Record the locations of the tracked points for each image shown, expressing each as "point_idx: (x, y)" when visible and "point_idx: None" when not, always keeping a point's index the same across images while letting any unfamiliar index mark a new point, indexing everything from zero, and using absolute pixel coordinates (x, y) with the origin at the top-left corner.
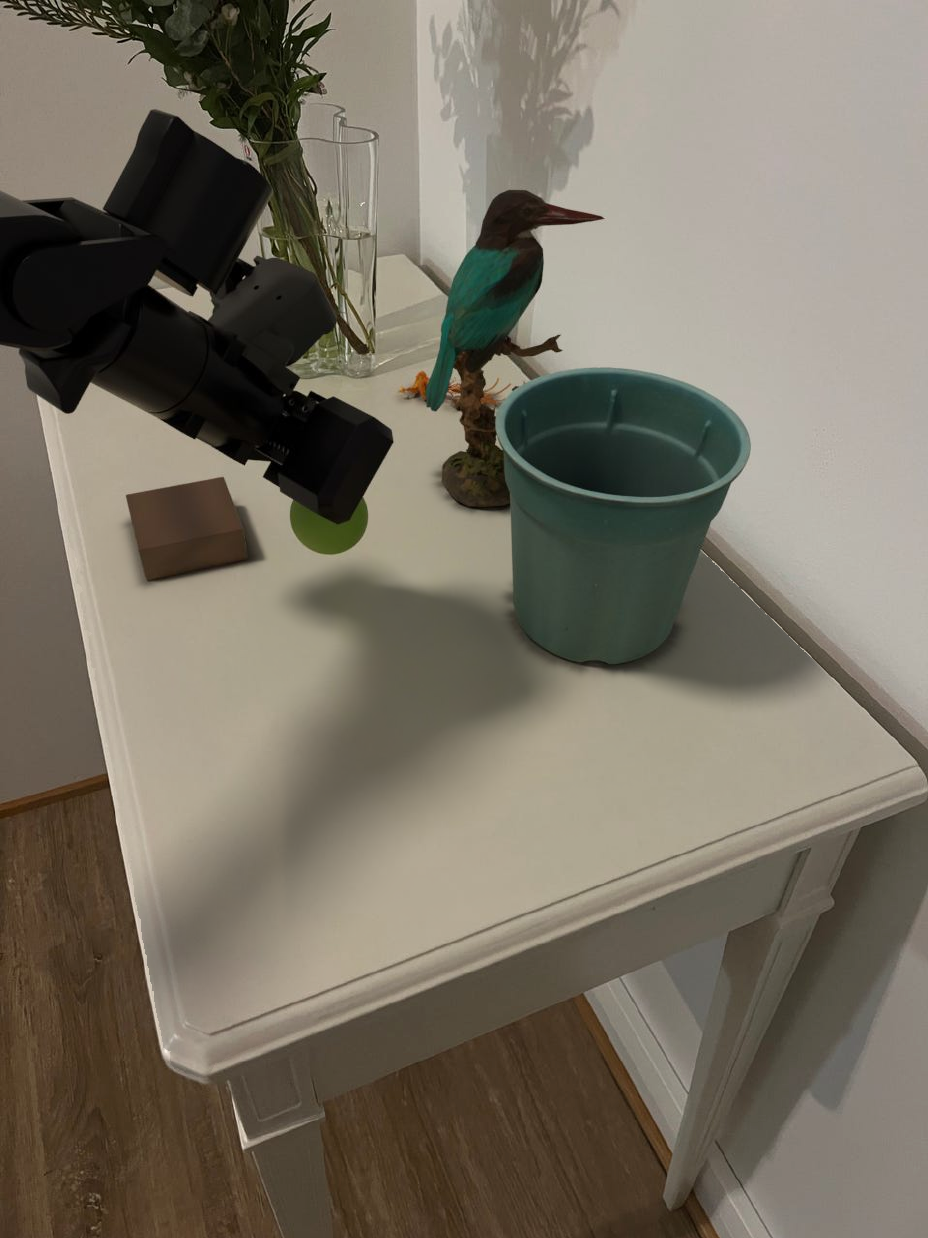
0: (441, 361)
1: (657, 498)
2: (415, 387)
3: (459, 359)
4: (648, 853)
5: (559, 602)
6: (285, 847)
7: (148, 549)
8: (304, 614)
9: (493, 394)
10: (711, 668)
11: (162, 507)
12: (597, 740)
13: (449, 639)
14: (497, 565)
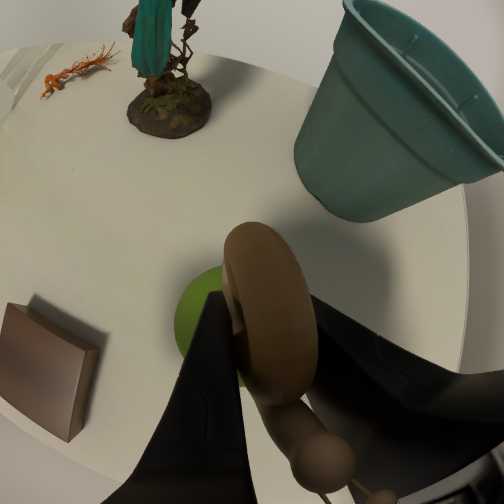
0: (153, 19)
1: None
2: (49, 87)
3: (135, 21)
4: (464, 290)
5: (410, 205)
6: None
7: (69, 436)
8: None
9: (106, 54)
10: None
11: (18, 383)
12: (424, 257)
13: (318, 269)
14: (264, 173)
